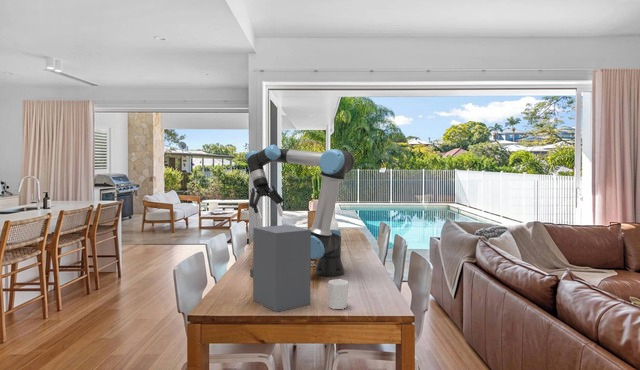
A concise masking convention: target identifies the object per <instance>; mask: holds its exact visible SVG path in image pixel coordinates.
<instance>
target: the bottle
mask: <svg viewBox="0 0 640 370" xmlns="http://www.w3.org/2000/svg"><path fill="white" fill-rule="evenodd" d="M330 229H333V230H339V223H338V220H336V208H334V212H333V217H332V222H331V226H330Z"/></svg>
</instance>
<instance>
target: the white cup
mask: <svg viewBox="0 0 640 370" xmlns="http://www.w3.org/2000/svg"><path fill="white" fill-rule="evenodd" d="M327 282H328V284H327V285H328V287H327V288H328V302H329V303H328V304H329V308H330V309H331V308H332V309H331V310H335V309H342V310H345V309H347V306H348V295H349V294H348V293H349V281H348V280H346V279H331V280H329V281H327ZM344 308H345V309H344Z"/></svg>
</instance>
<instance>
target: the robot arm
mask: <svg viewBox="0 0 640 370" xmlns="http://www.w3.org/2000/svg"><path fill="white" fill-rule="evenodd" d="M245 161H246V164H247V167H248V171H249V174H250V177H251V181H252V184H253V187H252V188H251V189H250V197H249V202H248V206H249V207H250V208H251V209H253V211H254V214H256V217H257V220H261V219H262V218H263V217H262V214H261V209H260V206H259V205H258V203H259V201H260V198H261V197H268V198H269V199H270V200H271V201H273V202H274V203H276V209H277V213H278V216H279V217H282V216H284V211H283V206H282V203H284V198H282V196H281V195H280V194H279V192H278V191H277V190H276V188H275V186H274V185H272V186H269V182H268V179H267V175H266V171H265V169H264V166H267V165H268V164H270V163H281V164H282V163H283V164H284V163H285V164H293V165H300V166H301V165H302V166H309V167H319V168H320V176H321V180H322V181H321V184H320V185H321V186H320V191H319V194H318V198H317V199H318V200H317V204H316V209H315V214H314V218H313V222H312V226H311V227H309V230H311V259H312V260H316V259H317V262H316V264H315V268H314V272H315V274H316V275H317V276H321V277H339V276H343V275H344V274H345V269H344V268H345V267H344V264H343V262H342V257H341V256H342V255H341V254H342V233H341V232H342V231H341V230H340V229H338V230H333V229H330V226H331V222H332V217H333V212H334V208H335V207H336V203H337V199H338V193H339V189H340V184H341V182H342V181H344V180H345V177H346V174H348V173H350V172H351V171H352V170H353V168H354V167H355V157H354V155H353V154H352V153H351V152H350V151H349V150H343V149H335V148H332V149H327V150H325V151H324V152H321V151H312V150H311V151H309V150H300V149H287V148H279V146H277V145H276V144H270V145H267V146H266V147H265V148H264V149H262V150H259V151H258V150H251V151H248V152H247V153H246V154H245ZM255 194H256V195H255ZM335 209H336V208H335ZM342 274H343V275H342ZM338 275H339V276H338Z"/></svg>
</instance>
